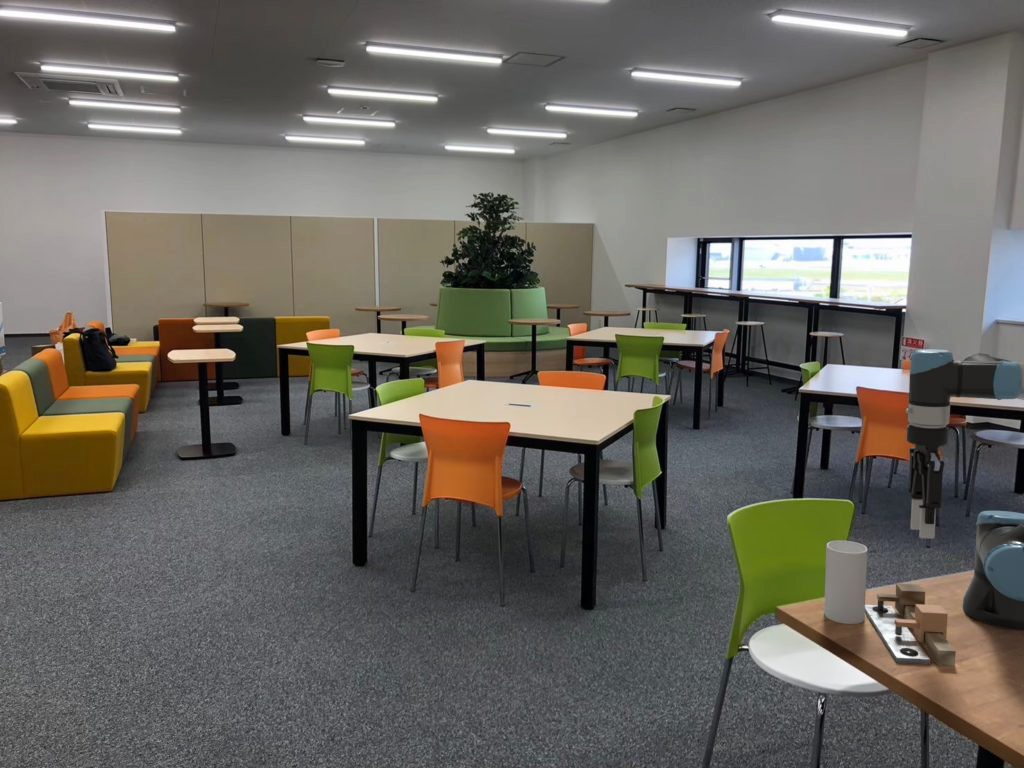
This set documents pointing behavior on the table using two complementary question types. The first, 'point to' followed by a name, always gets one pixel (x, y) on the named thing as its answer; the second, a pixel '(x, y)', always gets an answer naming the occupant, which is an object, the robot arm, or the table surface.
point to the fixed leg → (903, 597)
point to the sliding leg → (925, 621)
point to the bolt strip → (896, 636)
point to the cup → (845, 582)
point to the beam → (934, 642)
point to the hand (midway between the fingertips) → (922, 533)
